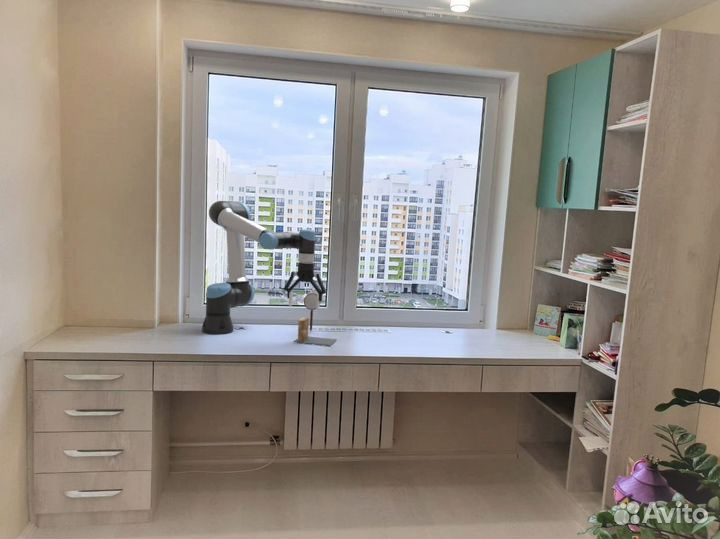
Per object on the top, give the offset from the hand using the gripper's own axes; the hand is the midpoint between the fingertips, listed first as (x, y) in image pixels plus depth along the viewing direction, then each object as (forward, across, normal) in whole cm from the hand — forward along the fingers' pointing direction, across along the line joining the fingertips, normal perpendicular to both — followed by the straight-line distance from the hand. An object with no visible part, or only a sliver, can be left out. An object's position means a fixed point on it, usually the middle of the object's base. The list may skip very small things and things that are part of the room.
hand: (304, 306), depth 248 cm
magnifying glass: (+17, -2, +20) cm, 26 cm away
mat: (+16, +6, +1) cm, 18 cm away
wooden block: (+16, 0, 0) cm, 16 cm away
